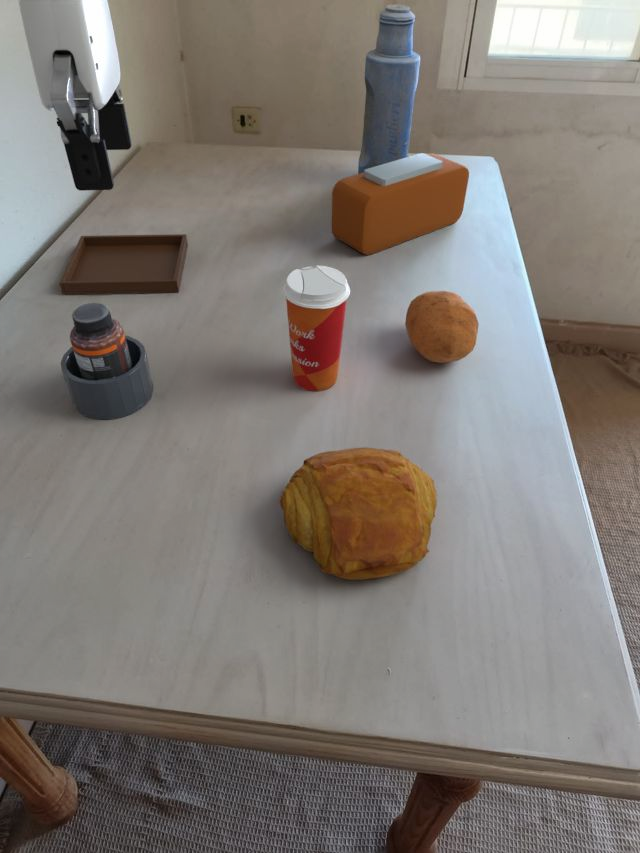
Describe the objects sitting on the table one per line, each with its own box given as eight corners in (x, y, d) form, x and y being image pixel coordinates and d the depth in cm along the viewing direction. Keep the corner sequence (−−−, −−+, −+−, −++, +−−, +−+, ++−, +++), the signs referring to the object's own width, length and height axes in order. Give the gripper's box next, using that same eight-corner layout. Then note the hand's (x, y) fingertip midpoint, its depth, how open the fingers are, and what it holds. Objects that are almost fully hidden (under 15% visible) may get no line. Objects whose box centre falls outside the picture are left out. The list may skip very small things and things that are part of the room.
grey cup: (64, 421, 73) (51, 384, 70) (82, 370, 80) (71, 334, 77) (147, 418, 74) (139, 382, 70) (157, 368, 81) (150, 333, 77)
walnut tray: (62, 295, 94) (58, 283, 92) (83, 246, 105) (80, 235, 103) (178, 292, 95) (176, 280, 93) (187, 245, 106) (186, 234, 104)
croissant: (285, 489, 69) (272, 437, 64) (426, 470, 68) (425, 415, 63) (289, 604, 58) (274, 552, 53) (456, 583, 57) (458, 528, 52)
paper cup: (277, 366, 82) (273, 269, 72) (332, 354, 84) (335, 258, 74) (297, 403, 76) (295, 303, 67) (355, 389, 78) (362, 291, 69)
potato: (466, 328, 89) (476, 281, 84) (480, 377, 81) (492, 329, 75) (401, 327, 89) (407, 279, 84) (408, 376, 81) (415, 327, 75)
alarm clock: (429, 205, 119) (437, 143, 111) (461, 221, 114) (473, 157, 106) (329, 239, 108) (331, 173, 100) (361, 259, 103) (365, 190, 95)
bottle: (352, 175, 129) (361, 1, 108) (399, 172, 130) (416, 0, 110) (363, 194, 122) (375, 12, 102) (412, 191, 123) (433, 11, 103)
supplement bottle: (123, 369, 80) (104, 291, 72) (146, 392, 77) (128, 313, 69) (79, 388, 77) (54, 308, 69) (100, 413, 74) (76, 333, 66)
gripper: (32, -79, 52) (84, 136, 64) (-42, -55, 40) (40, 208, 51) (123, -79, 53) (158, 135, 64) (79, -56, 40) (133, 206, 52)
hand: (106, 167), depth 58 cm, fingers open, 9 cm apart
